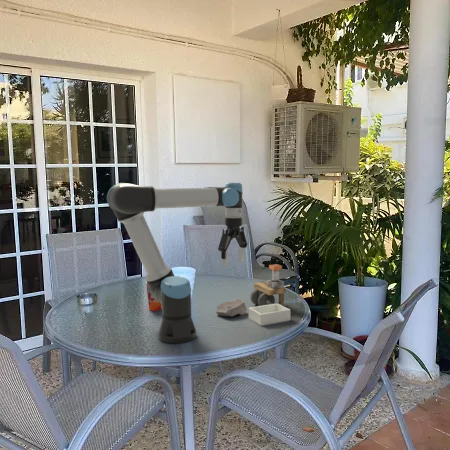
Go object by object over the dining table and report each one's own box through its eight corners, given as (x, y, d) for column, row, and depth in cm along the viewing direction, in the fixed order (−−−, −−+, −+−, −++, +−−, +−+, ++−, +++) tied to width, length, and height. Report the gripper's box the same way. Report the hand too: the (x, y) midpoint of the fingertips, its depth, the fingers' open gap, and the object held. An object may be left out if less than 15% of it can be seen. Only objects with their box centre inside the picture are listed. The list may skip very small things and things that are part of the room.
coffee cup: (147, 312, 210) (145, 281, 208) (146, 307, 218) (145, 277, 216) (164, 310, 211) (163, 280, 210) (163, 306, 219) (162, 276, 218)
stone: (226, 320, 196) (226, 307, 196) (214, 315, 204) (214, 302, 203) (249, 315, 204) (249, 302, 204) (237, 310, 212) (237, 298, 211)
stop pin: (273, 288, 208) (273, 266, 207) (269, 286, 212) (269, 265, 211) (281, 287, 210) (281, 265, 209) (277, 285, 214) (276, 264, 213)
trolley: (263, 312, 206) (263, 284, 204) (248, 304, 219) (248, 278, 218) (285, 309, 210) (285, 281, 209) (269, 301, 224) (269, 275, 223)
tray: (260, 326, 188) (260, 314, 187) (248, 318, 198) (248, 307, 197) (290, 320, 194) (290, 309, 193) (277, 313, 204) (277, 303, 203)
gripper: (224, 219, 186) (224, 269, 188) (255, 215, 207) (254, 260, 209) (210, 218, 190) (210, 267, 193) (241, 215, 211) (241, 258, 213)
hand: (233, 263), depth 201 cm, fingers open, 13 cm apart
